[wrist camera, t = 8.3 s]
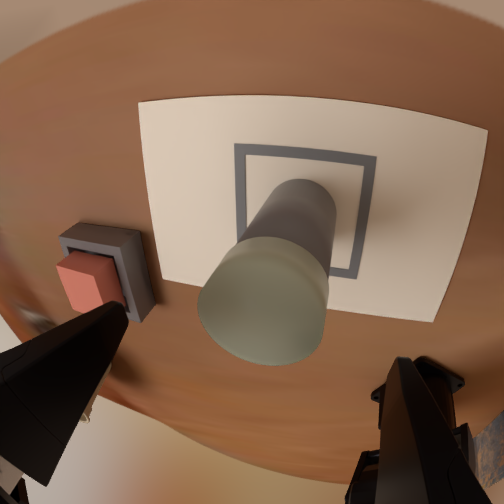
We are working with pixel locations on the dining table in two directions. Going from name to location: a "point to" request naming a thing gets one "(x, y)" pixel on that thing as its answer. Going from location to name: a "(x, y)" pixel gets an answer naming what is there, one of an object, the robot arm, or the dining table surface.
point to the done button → (89, 280)
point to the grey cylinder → (275, 279)
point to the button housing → (116, 261)
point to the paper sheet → (325, 174)
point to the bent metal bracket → (490, 453)
